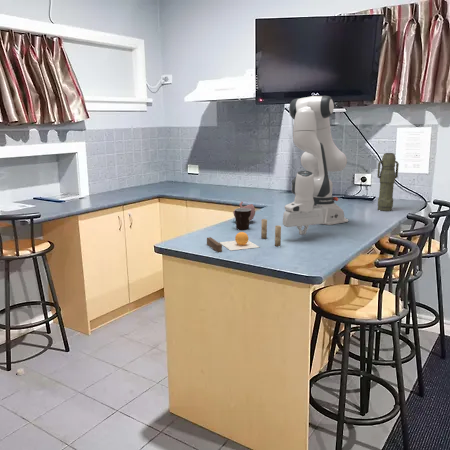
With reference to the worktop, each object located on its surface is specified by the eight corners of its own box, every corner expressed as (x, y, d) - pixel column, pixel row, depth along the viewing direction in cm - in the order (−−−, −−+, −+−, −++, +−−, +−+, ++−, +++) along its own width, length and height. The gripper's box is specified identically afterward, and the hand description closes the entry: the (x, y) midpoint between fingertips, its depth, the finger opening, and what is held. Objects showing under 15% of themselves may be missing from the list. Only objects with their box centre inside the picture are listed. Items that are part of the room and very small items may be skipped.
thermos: (397, 211, 286) (402, 153, 278) (378, 211, 285) (382, 153, 277) (391, 208, 295) (395, 152, 287) (373, 208, 294) (377, 152, 286)
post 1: (265, 237, 225) (265, 219, 223) (267, 238, 223) (268, 220, 221) (260, 237, 224) (260, 219, 222) (262, 238, 222) (263, 220, 220)
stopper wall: (210, 243, 214) (210, 237, 213) (221, 251, 201) (221, 244, 201) (206, 244, 213) (206, 237, 213) (217, 252, 201) (217, 245, 200)
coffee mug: (241, 225, 249) (241, 207, 246) (254, 228, 243) (254, 209, 241) (227, 229, 240) (227, 210, 238) (240, 232, 235) (240, 212, 232)
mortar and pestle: (242, 218, 265) (242, 199, 263) (259, 221, 258) (259, 201, 255) (228, 222, 256) (228, 202, 254) (246, 225, 249) (246, 204, 246)
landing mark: (246, 239, 220) (246, 239, 220) (259, 247, 208) (259, 247, 208) (219, 242, 215) (219, 242, 215) (230, 250, 203) (230, 250, 203)
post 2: (278, 244, 213) (279, 225, 210) (281, 245, 210) (282, 226, 208) (273, 245, 212) (274, 225, 210) (276, 246, 209) (277, 227, 207)
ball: (234, 245, 214) (246, 241, 215) (240, 248, 208) (251, 243, 210) (231, 233, 212) (243, 229, 214) (236, 236, 207) (248, 231, 208)
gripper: (319, 203, 226) (317, 231, 229) (281, 206, 219) (280, 234, 222) (326, 205, 221) (324, 233, 224) (288, 208, 213) (287, 237, 216)
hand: (302, 234), depth 223 cm, fingers closed
